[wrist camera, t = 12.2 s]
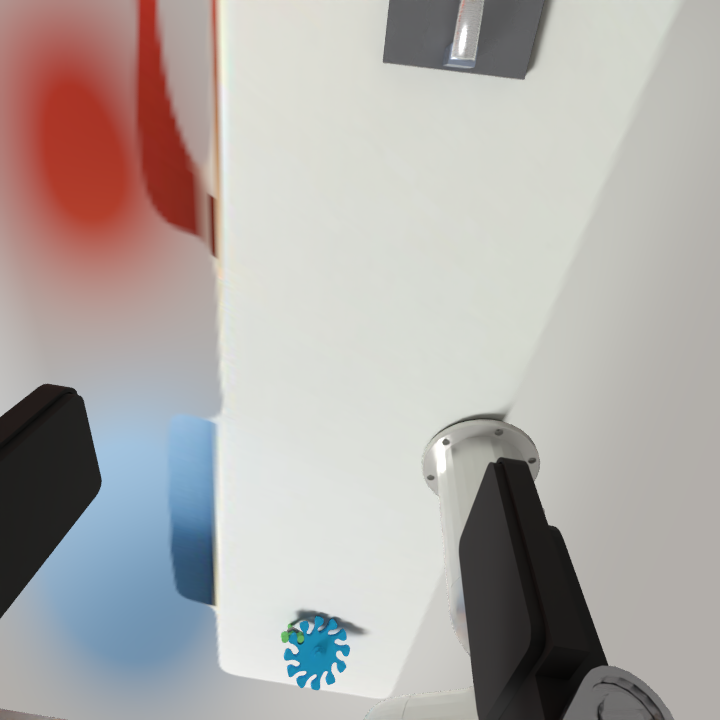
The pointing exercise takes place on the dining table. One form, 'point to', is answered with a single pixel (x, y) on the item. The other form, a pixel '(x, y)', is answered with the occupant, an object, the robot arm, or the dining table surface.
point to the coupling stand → (463, 35)
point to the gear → (315, 651)
